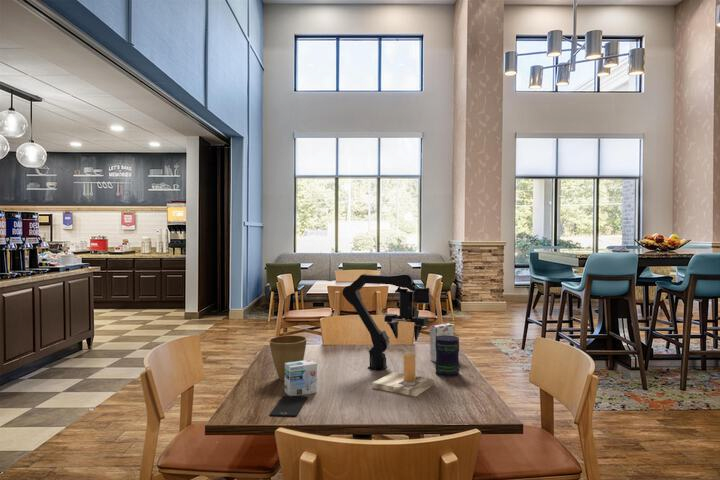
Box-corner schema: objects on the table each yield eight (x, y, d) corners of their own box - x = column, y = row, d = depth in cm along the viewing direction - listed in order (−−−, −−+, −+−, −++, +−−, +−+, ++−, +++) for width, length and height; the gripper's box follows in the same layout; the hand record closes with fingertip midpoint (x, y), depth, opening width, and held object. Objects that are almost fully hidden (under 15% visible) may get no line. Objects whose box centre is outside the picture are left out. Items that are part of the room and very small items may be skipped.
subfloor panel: (372, 387, 172) (372, 382, 172) (392, 377, 186) (392, 371, 186) (415, 396, 162) (415, 390, 162) (434, 384, 176) (434, 379, 176)
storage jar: (430, 371, 193) (430, 336, 193) (450, 369, 196) (450, 334, 196) (443, 378, 183) (443, 341, 183) (464, 375, 187) (464, 339, 187)
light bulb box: (289, 397, 162) (289, 367, 162) (283, 391, 168) (283, 362, 168) (317, 392, 167) (317, 363, 167) (310, 387, 173) (310, 359, 173)
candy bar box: (448, 357, 216) (447, 322, 216) (455, 359, 212) (455, 324, 212) (429, 360, 211) (429, 325, 211) (436, 363, 206) (436, 326, 206)
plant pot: (285, 371, 194) (285, 333, 194) (314, 376, 187) (313, 337, 187) (261, 380, 181) (261, 340, 181) (291, 386, 174) (291, 344, 174)
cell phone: (268, 417, 145) (268, 414, 145) (283, 397, 163) (283, 395, 163) (296, 418, 144) (296, 415, 144) (307, 398, 162) (307, 395, 162)
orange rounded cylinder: (404, 390, 169) (404, 356, 169) (403, 386, 174) (403, 353, 174) (416, 390, 169) (415, 356, 169) (414, 386, 174) (414, 353, 174)
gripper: (433, 302, 197) (434, 338, 197) (395, 299, 207) (395, 333, 207) (422, 305, 188) (423, 343, 188) (383, 302, 198) (383, 338, 198)
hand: (406, 339), depth 196 cm, fingers open, 9 cm apart
